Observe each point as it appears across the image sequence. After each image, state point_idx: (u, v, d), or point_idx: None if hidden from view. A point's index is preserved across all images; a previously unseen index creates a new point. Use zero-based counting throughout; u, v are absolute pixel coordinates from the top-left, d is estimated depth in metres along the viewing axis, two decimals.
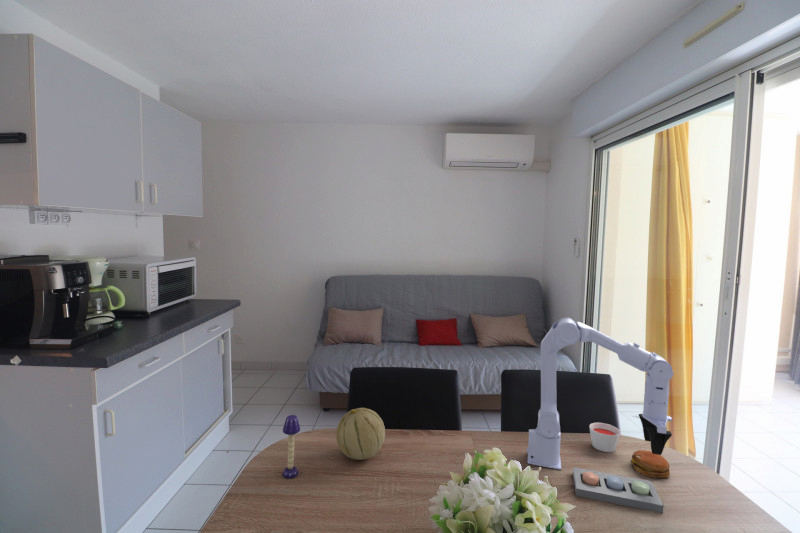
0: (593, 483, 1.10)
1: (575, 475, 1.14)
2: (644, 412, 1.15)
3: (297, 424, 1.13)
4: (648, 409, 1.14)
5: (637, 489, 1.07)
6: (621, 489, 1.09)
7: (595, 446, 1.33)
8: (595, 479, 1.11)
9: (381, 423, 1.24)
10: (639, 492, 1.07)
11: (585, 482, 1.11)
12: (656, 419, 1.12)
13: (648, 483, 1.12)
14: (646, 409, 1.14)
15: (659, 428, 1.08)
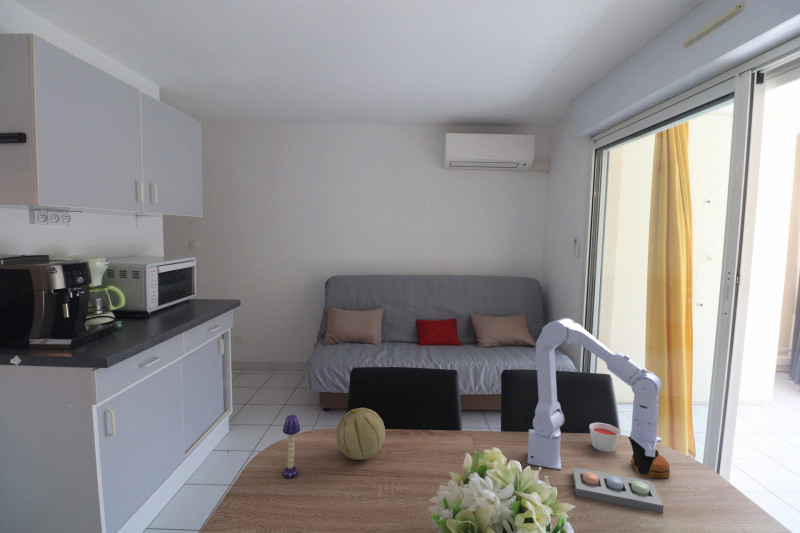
0: (593, 483, 1.10)
1: (575, 475, 1.14)
2: (632, 432, 1.08)
3: (297, 424, 1.13)
4: (636, 429, 1.06)
5: (637, 489, 1.07)
6: (621, 489, 1.09)
7: (595, 446, 1.33)
8: (595, 479, 1.11)
9: (381, 423, 1.24)
10: (639, 492, 1.07)
11: (585, 482, 1.11)
12: (645, 440, 1.05)
13: (648, 483, 1.12)
14: (634, 430, 1.07)
15: (647, 451, 1.01)
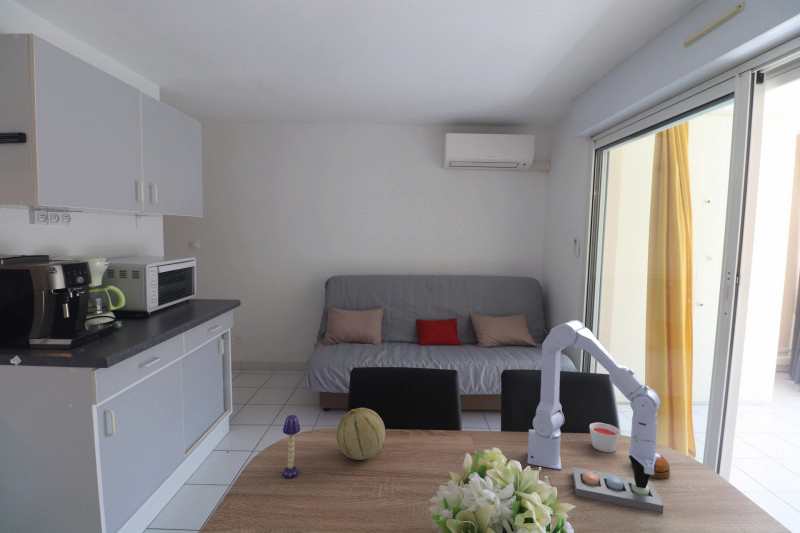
0: (593, 483, 1.10)
1: (575, 475, 1.14)
2: (631, 449, 1.08)
3: (297, 424, 1.13)
4: (635, 446, 1.07)
5: (637, 490, 1.07)
6: (621, 489, 1.09)
7: (595, 446, 1.33)
8: (595, 479, 1.11)
9: (381, 423, 1.24)
10: (639, 493, 1.07)
11: (585, 482, 1.11)
12: (643, 458, 1.05)
13: (648, 483, 1.12)
14: (633, 446, 1.07)
15: (646, 469, 1.01)
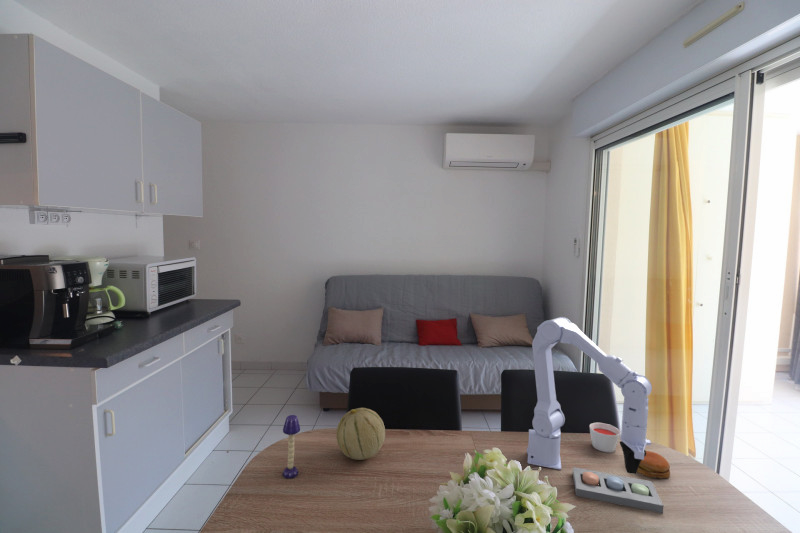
0: (593, 483, 1.10)
1: (575, 475, 1.14)
2: (622, 435, 1.09)
3: (297, 424, 1.13)
4: (626, 432, 1.07)
5: (637, 492, 1.07)
6: (621, 489, 1.09)
7: (595, 446, 1.33)
8: (595, 479, 1.11)
9: (381, 423, 1.24)
10: None
11: (585, 482, 1.11)
12: (634, 443, 1.06)
13: (648, 483, 1.12)
14: (623, 432, 1.08)
15: (636, 454, 1.02)
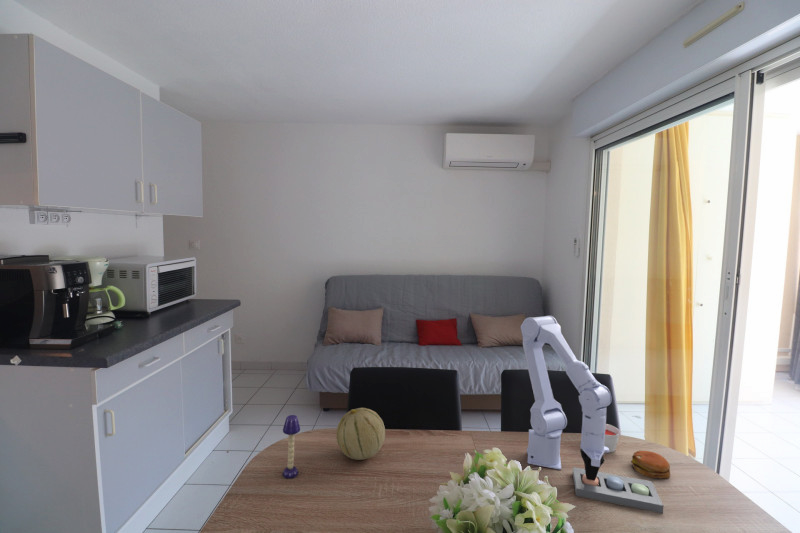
0: None
1: (575, 475, 1.14)
2: (581, 443, 1.12)
3: (297, 424, 1.13)
4: (585, 440, 1.10)
5: (637, 492, 1.07)
6: (621, 489, 1.09)
7: None
8: (595, 482, 1.11)
9: (381, 423, 1.24)
10: None
11: None
12: (592, 451, 1.09)
13: (648, 483, 1.12)
14: (583, 440, 1.11)
15: (593, 461, 1.05)
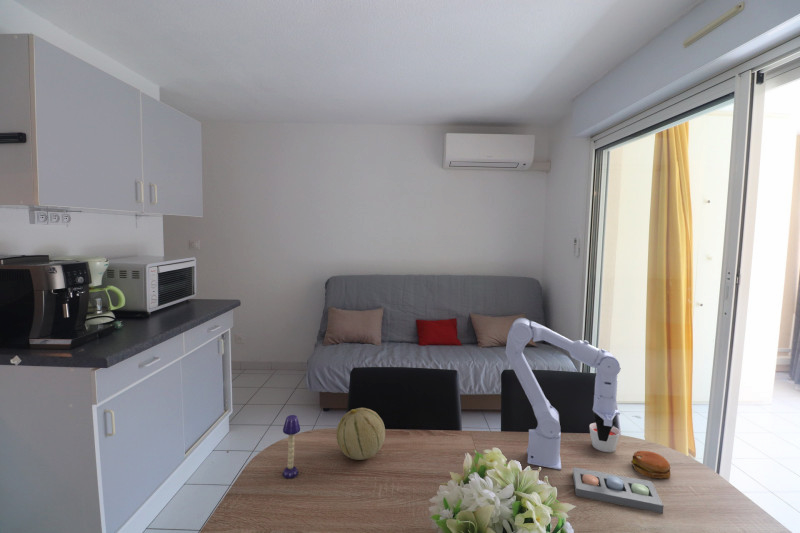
0: None
1: (575, 475, 1.14)
2: (594, 406, 1.20)
3: (297, 424, 1.13)
4: (597, 403, 1.18)
5: (637, 492, 1.07)
6: (621, 489, 1.09)
7: (595, 446, 1.33)
8: (595, 482, 1.11)
9: (381, 423, 1.24)
10: None
11: None
12: (604, 413, 1.17)
13: (648, 483, 1.12)
14: (595, 403, 1.19)
15: (605, 421, 1.13)
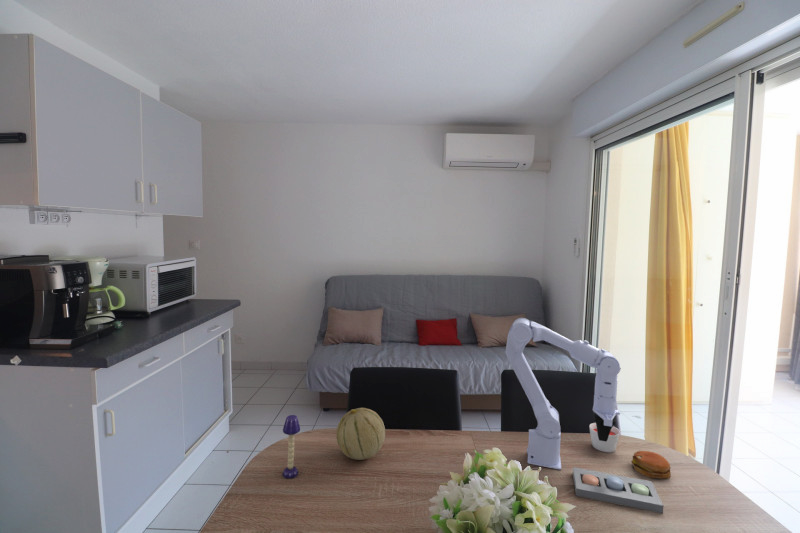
0: None
1: (575, 475, 1.14)
2: (594, 406, 1.20)
3: (297, 424, 1.13)
4: (597, 403, 1.18)
5: (637, 492, 1.07)
6: (621, 489, 1.09)
7: (595, 446, 1.33)
8: (595, 482, 1.11)
9: (381, 423, 1.24)
10: None
11: None
12: (604, 413, 1.17)
13: (648, 483, 1.12)
14: (595, 403, 1.19)
15: (605, 421, 1.13)
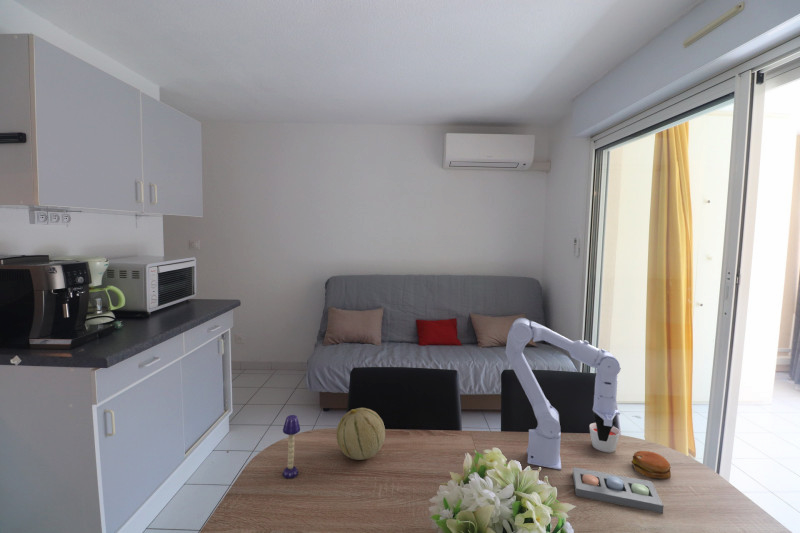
0: None
1: (575, 475, 1.14)
2: (594, 406, 1.20)
3: (297, 424, 1.13)
4: (597, 403, 1.18)
5: (637, 492, 1.07)
6: (621, 489, 1.09)
7: (595, 446, 1.33)
8: (595, 482, 1.11)
9: (381, 423, 1.24)
10: None
11: None
12: (604, 413, 1.17)
13: (648, 483, 1.12)
14: (595, 403, 1.19)
15: (605, 421, 1.13)
